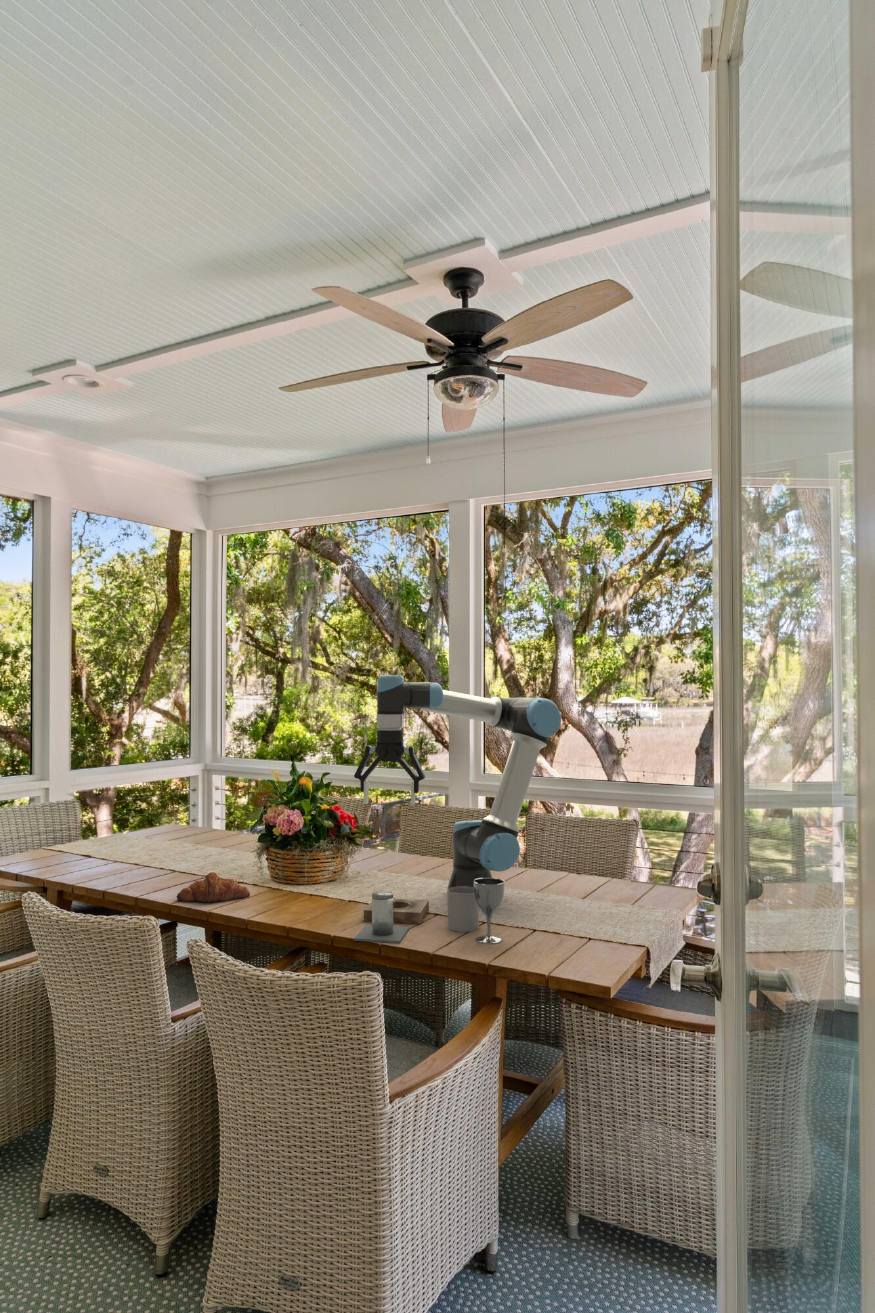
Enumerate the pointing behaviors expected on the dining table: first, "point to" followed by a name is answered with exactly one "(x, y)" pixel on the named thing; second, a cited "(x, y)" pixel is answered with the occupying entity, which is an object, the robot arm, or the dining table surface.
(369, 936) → the mat
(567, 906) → the dining table surface
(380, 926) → the plug
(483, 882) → the wine glass
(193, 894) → the pastry
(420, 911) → the block
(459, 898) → the cup
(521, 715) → the robot arm
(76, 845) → the dining table surface
